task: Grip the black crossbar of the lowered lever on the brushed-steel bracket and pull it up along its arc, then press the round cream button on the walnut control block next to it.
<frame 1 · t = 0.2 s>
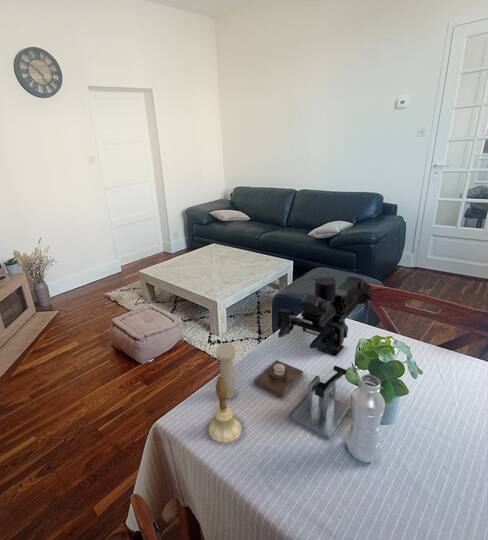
hand: (294, 341, 89), 17 cm above the table, tool horizontal, fingers open, 9 cm apart
lever: (332, 380, 88), point 7 cm above the table, hinge at -12.0°
bracket: (320, 414, 86), on the table
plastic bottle: (361, 454, 75), on the table
button: (279, 369, 98), point 4 cm above the table, slide at 0.1 cm
button block: (279, 380, 99), on the table
handle: (228, 395, 96), on the table
hand bell: (225, 430, 84), on the table
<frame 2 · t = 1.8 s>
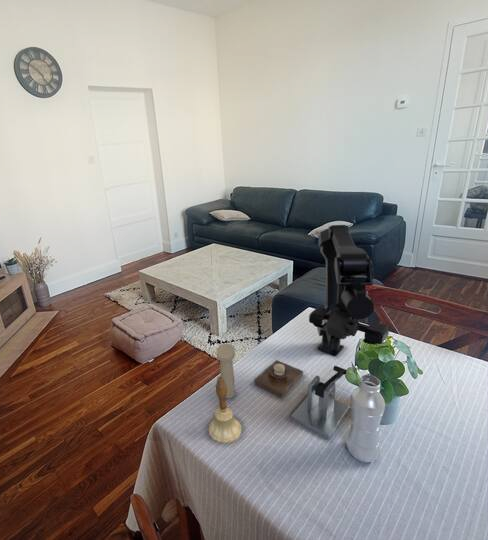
hand: (344, 351, 91), 12 cm above the table, tool pointing down, fingers open, 9 cm apart
nothing on the table moved.
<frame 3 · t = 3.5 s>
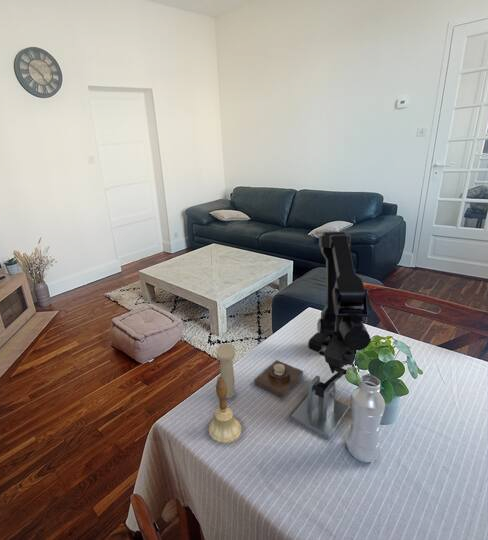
hand: (342, 376, 94), 3 cm above the table, tool pointing down, fingers closed on lever, 5 cm apart
lever: (332, 380, 88), point 7 cm above the table, hinge at -12.0°, touching gripper
everything else where it was.
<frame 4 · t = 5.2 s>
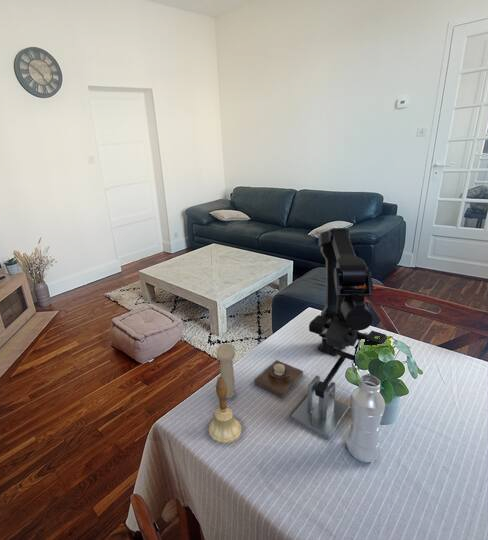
hand: (344, 359, 92), 9 cm above the table, tool pointing down, fingers closed on lever, 5 cm apart
lever: (333, 372, 87), point 9 cm above the table, hinge at 10.5°, touching gripper
everything else where it was.
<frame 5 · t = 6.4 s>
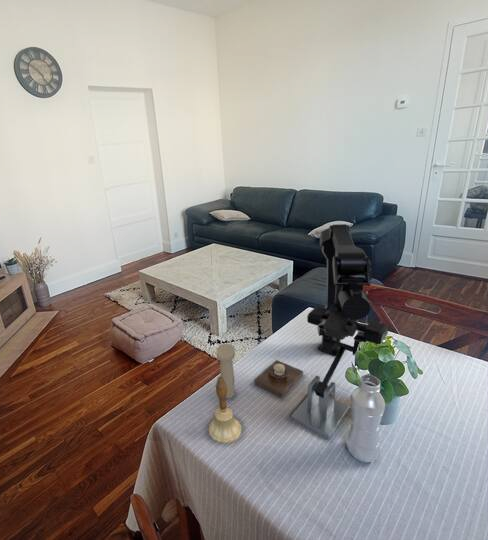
hand: (343, 350, 90), 12 cm above the table, tool pointing down, fingers closed on lever, 5 cm apart
lever: (332, 368, 86), point 11 cm above the table, hinge at 24.4°, touching gripper
everything else where it was.
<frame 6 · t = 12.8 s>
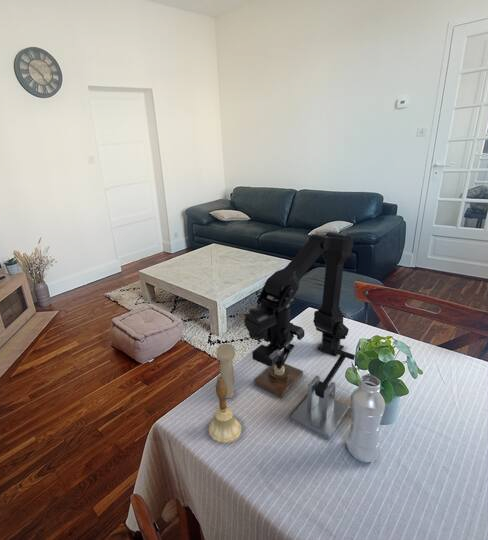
hand: (279, 367, 98), 5 cm above the table, tool pointing down, fingers closed, pressing on button
lever: (333, 372, 87), point 9 cm above the table, hinge at 11.3°
button: (279, 370, 98), point 4 cm above the table, slide at -0.2 cm, touching gripper
everything else where it was.
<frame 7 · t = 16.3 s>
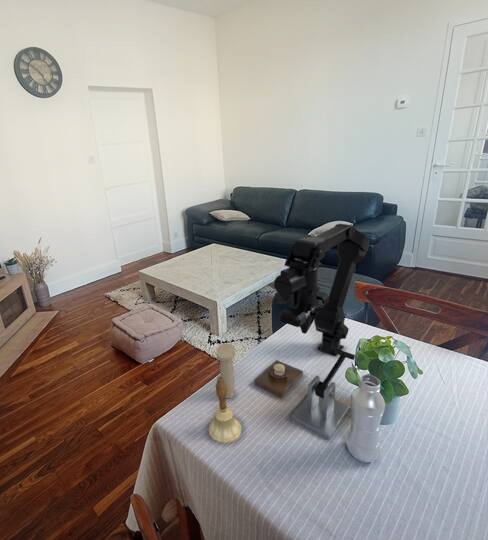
hand: (304, 332, 99), 13 cm above the table, tool pointing down, fingers closed
button: (279, 369, 98), point 4 cm above the table, slide at 0.1 cm
everything else where it was.
at the end: lever at +11° (first picture: -12°); button pushed in 0.9 cm at the most during the clip, back to where it started at the end; button slide at 0.1 cm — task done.
